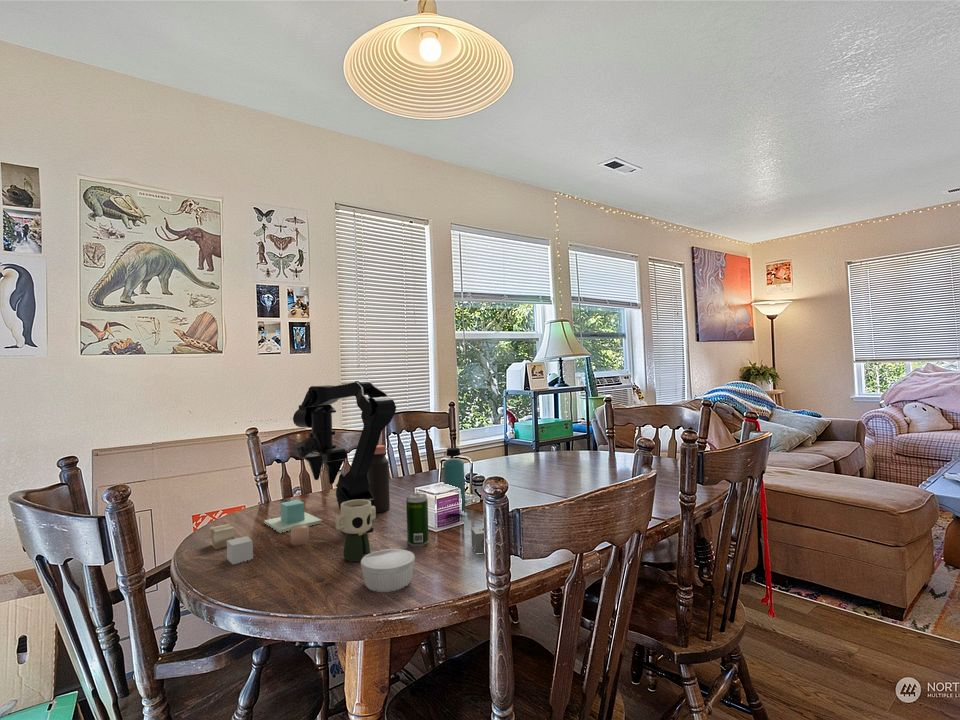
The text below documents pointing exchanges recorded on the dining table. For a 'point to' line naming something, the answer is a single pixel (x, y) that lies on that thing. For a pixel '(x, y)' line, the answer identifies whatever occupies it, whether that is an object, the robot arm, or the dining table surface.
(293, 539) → the terracotta cylinder
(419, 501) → the beer can
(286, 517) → the teal block
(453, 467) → the beverage bottle
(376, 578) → the ramekin
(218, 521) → the dining table surface
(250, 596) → the dining table surface
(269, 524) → the sage pad
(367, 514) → the character mug
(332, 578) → the dining table surface
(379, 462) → the dark water bottle
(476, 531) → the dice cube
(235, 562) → the grey plastic block
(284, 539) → the dining table surface
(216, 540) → the birch block
